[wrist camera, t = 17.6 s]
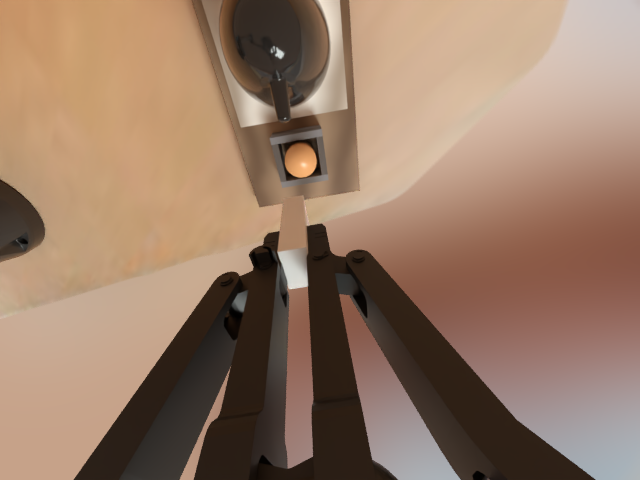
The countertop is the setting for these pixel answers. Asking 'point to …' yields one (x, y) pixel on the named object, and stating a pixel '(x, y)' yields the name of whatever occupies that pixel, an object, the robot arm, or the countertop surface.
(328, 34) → the pump dispenser
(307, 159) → the button
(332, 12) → the drawing board
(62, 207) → the countertop surface
